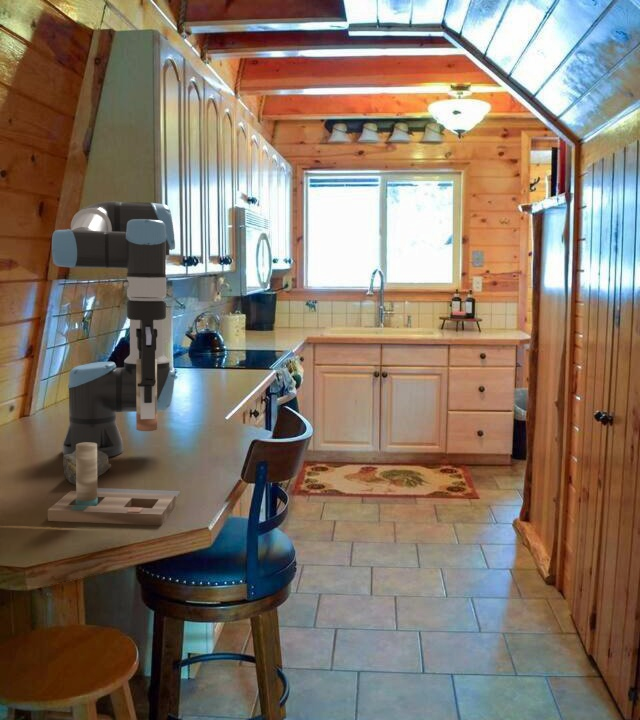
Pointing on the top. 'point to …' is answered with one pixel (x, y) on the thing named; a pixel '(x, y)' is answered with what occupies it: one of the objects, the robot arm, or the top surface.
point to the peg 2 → (140, 423)
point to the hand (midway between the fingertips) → (146, 416)
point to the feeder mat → (138, 491)
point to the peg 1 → (86, 474)
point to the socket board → (115, 508)
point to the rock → (70, 465)
